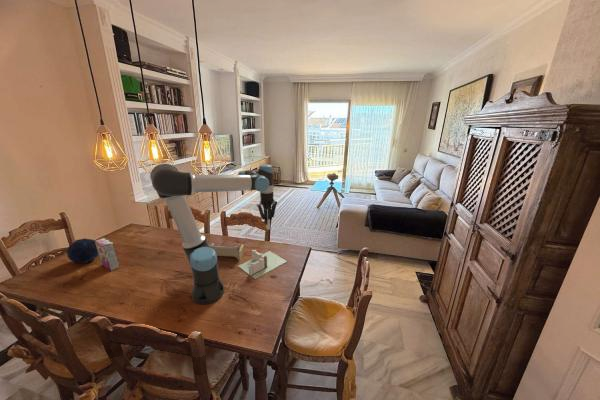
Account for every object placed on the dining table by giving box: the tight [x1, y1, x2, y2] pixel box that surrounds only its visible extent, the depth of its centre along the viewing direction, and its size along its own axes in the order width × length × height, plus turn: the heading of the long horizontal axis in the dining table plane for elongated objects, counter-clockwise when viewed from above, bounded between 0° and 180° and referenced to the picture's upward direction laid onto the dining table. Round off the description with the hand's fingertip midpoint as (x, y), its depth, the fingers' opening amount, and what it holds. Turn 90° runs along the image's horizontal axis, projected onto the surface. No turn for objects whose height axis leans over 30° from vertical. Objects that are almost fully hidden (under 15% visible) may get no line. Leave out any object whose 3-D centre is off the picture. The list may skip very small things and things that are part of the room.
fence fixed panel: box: [249, 256, 267, 276], centre depth 135 cm, size 12×2×7 cm, turn 136°
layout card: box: [237, 250, 288, 280], centre depth 143 cm, size 24×17×1 cm
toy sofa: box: [208, 242, 244, 261], centre depth 150 cm, size 21×9×10 cm, turn 87°
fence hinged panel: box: [251, 249, 264, 262], centre depth 143 cm, size 11×1×7 cm, turn 47°
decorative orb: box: [66, 238, 99, 264], centre depth 142 cm, size 14×15×15 cm
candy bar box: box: [94, 237, 121, 272], centre depth 136 cm, size 11×5×16 cm, turn 59°
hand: (267, 228), depth 143 cm, fingers closed
